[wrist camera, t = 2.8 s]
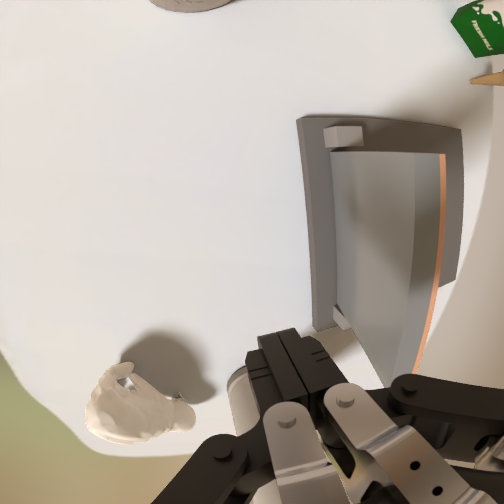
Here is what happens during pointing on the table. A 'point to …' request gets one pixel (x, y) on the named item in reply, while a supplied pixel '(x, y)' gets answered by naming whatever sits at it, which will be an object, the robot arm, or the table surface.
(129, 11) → the table surface
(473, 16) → the milk carton
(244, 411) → the travel mug
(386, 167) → the tile
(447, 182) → the base
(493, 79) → the ice cream cone
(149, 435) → the beige irregular lump
